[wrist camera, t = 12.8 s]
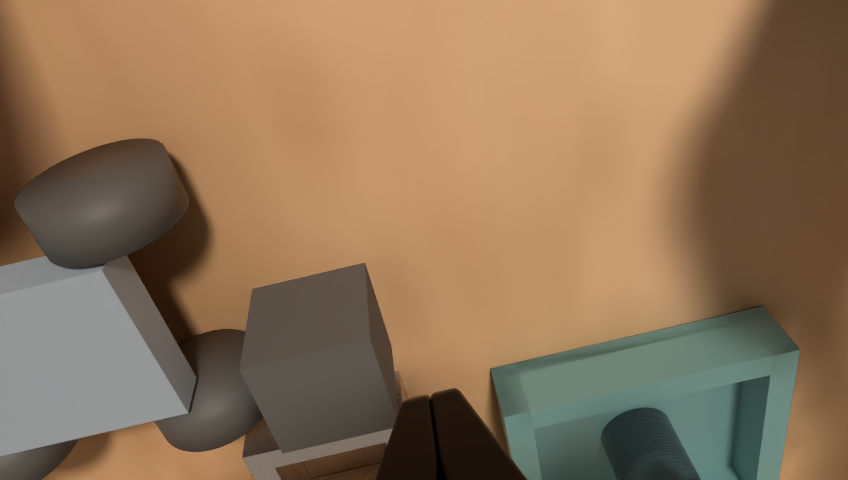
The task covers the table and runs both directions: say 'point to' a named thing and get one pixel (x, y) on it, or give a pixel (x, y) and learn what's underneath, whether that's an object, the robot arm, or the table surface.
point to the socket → (309, 452)
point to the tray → (657, 398)
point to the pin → (646, 447)
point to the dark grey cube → (319, 359)
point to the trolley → (105, 320)
